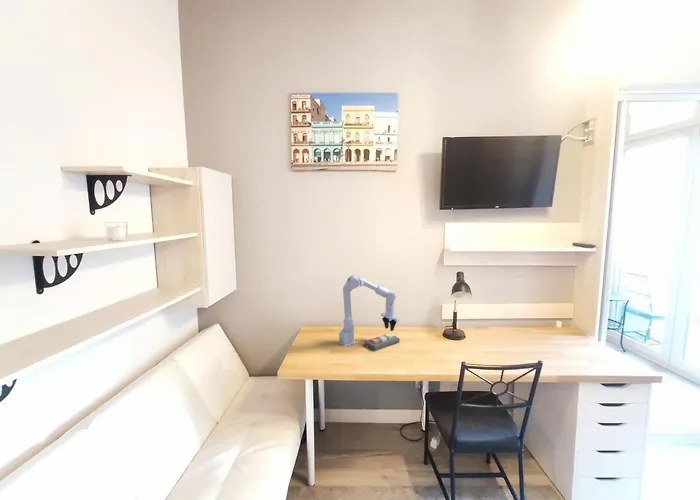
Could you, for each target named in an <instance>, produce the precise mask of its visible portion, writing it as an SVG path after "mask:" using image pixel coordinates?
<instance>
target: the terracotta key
mask: <svg viewBox="0 0 700 500" xmlns="http://www.w3.org/2000/svg"><path fill="white" fill-rule="evenodd" d="M370 339H371V342H372V343H374V344H377V343H380V340H379V339H377V338H376V337H374V339H373V338H370Z"/></svg>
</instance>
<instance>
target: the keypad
mask: <svg viewBox="0 0 700 500" xmlns="http://www.w3.org/2000/svg"><path fill="white" fill-rule="evenodd" d="M386 334H390V333H389V332H388V333H386ZM386 334H383V335H379V336H377V337H374V338H377V339H378V337H380V336H385V335H386ZM374 338H373V337H372V338H369V339H366V340H364V346H365V347H367V348H369V349H371V350H373V351H374V352H376V351H379V350H382V349H385V348H388V347H391V346H394V345H397V344H400V339H401V338H400V337H399V336H395V335H394V338H392V339H387V340H386V341H383V342H382V341H380V343H377V344H374V343H372V342H371V339H374Z"/></svg>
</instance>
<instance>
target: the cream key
mask: <svg viewBox="0 0 700 500" xmlns="http://www.w3.org/2000/svg"><path fill="white" fill-rule="evenodd" d="M379 336H380V337H379ZM379 336H377V337H378V339H379V340H380V341H382V342H383V341H386V340H387V337H385V336H382V335H379Z"/></svg>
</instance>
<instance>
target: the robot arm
mask: <svg viewBox="0 0 700 500" xmlns="http://www.w3.org/2000/svg"><path fill="white" fill-rule="evenodd" d="M358 287H365V288H368V289H370V290H372V291H374V293H375V294H376V295H379V296H380V297H382V298H384V299H385V312H381V313H380V316H381V317H382V318H381V319H382V322H383V324H384V328H385V329H390V332H392V331H394V329H395V326H396V325H397V323H398V322H400V319H399V318H398V317H397V316H396V315H395V306H396V305H395V300H396V299H397V298H396V293H394V291H393V290H392V289H389V288H386V287H384V285H376V284H374V283H372V282H370V281H368V280H366V279H365V278H363V277H361V276H358V275H356V274H353V275H350V276H349V277H348V278H347V279H346V282H345V283H344V286H343V288H342V292H343V293H342V295H343V309H344V319H343V328H342V330H340V331H339V333H338V343H339V344H340V345H341V346H344V347H348V346H350V345H354V344H357V343H358V342H357V341H355V325H354V324H355V323H354V320H353V318H352V317H353V312H352V301H351V299H352V298H351V292H352V291H353V290H354V289H357V288H358ZM389 326H390V327H389Z"/></svg>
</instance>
